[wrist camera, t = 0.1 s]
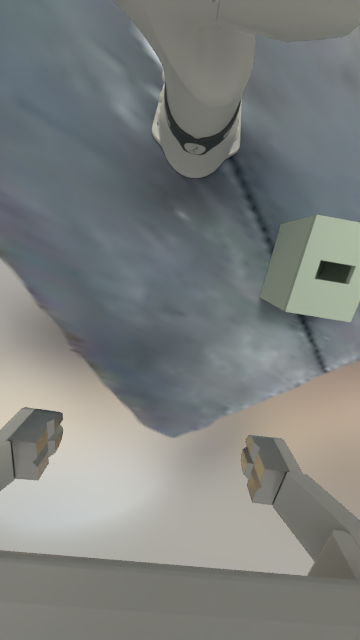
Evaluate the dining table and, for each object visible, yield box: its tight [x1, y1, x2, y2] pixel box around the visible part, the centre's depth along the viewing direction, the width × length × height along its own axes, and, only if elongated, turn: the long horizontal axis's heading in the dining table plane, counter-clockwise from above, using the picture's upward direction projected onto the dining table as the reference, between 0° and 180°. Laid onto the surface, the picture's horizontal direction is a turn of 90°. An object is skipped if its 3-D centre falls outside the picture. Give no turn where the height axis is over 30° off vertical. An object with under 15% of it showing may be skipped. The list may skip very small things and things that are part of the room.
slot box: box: [260, 215, 360, 322], centre depth 47 cm, size 18×14×14 cm
